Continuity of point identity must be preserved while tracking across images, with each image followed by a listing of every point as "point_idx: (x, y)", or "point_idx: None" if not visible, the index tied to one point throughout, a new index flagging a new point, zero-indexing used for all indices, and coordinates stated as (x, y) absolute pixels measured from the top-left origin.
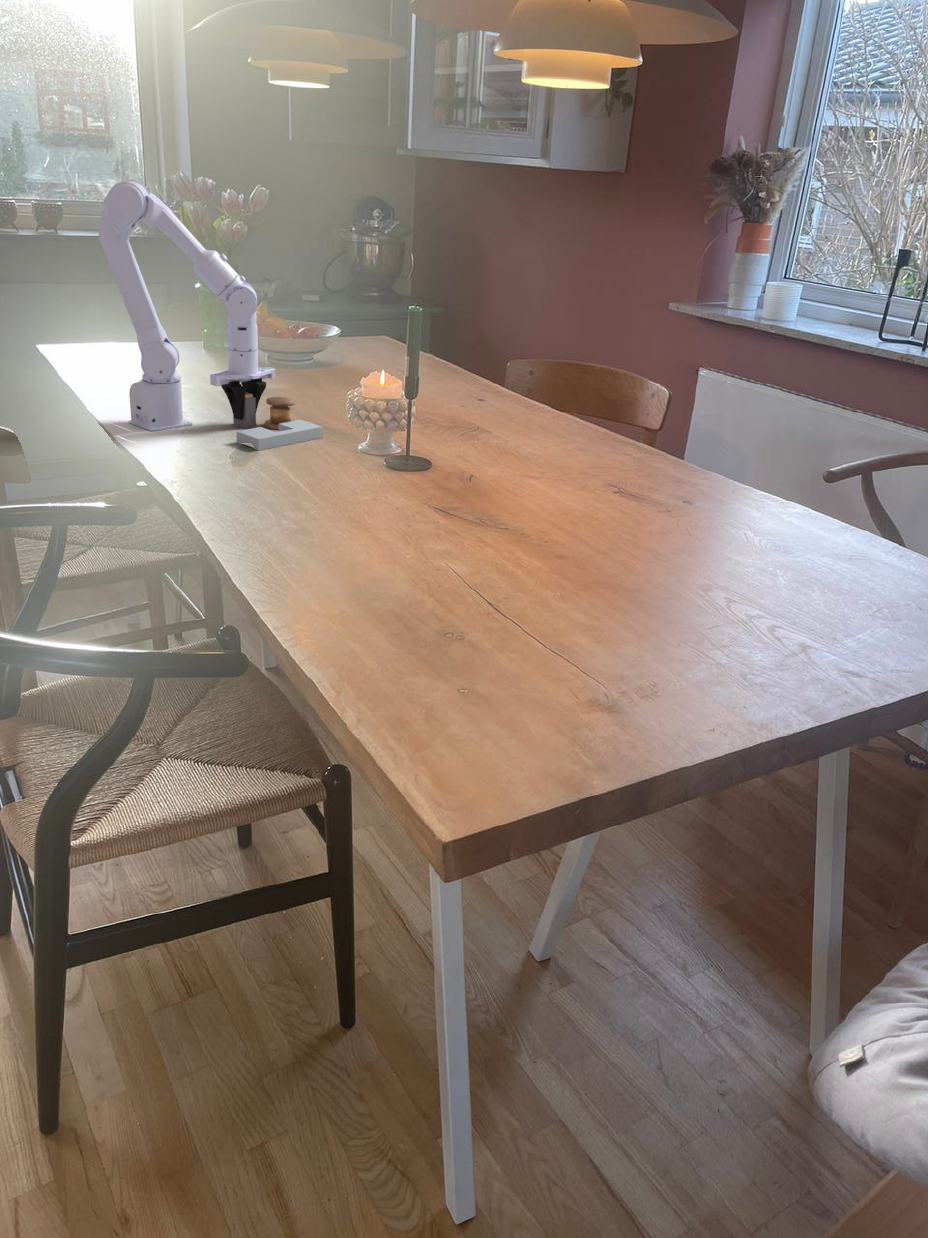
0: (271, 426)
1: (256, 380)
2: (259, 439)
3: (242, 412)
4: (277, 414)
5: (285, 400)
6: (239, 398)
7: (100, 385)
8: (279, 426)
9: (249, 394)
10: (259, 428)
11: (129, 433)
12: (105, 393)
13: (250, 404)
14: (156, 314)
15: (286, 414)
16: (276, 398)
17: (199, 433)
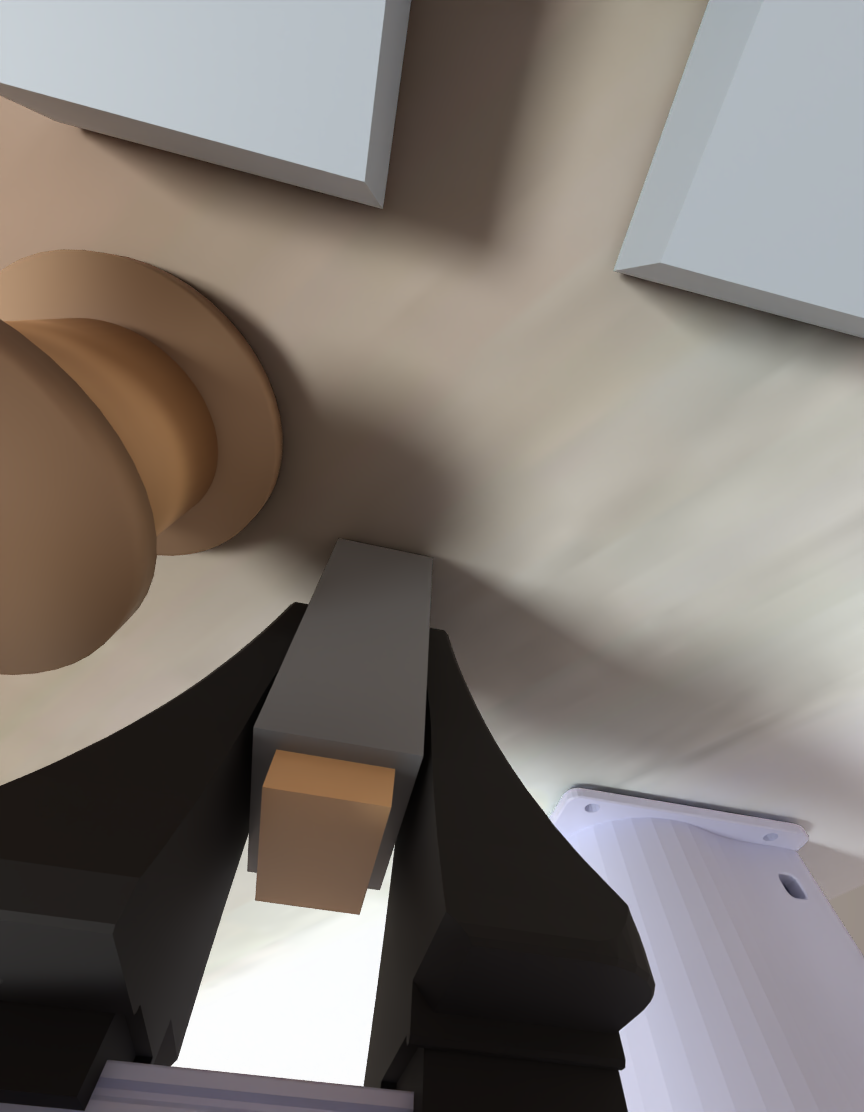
0: (273, 419)
1: (8, 1033)
2: None
3: (438, 659)
4: (148, 416)
5: None
6: (510, 787)
7: (344, 1084)
8: (374, 166)
9: (316, 797)
10: (740, 216)
11: (857, 858)
12: None
13: (357, 678)
14: None
15: (42, 329)
16: None
17: (699, 687)
